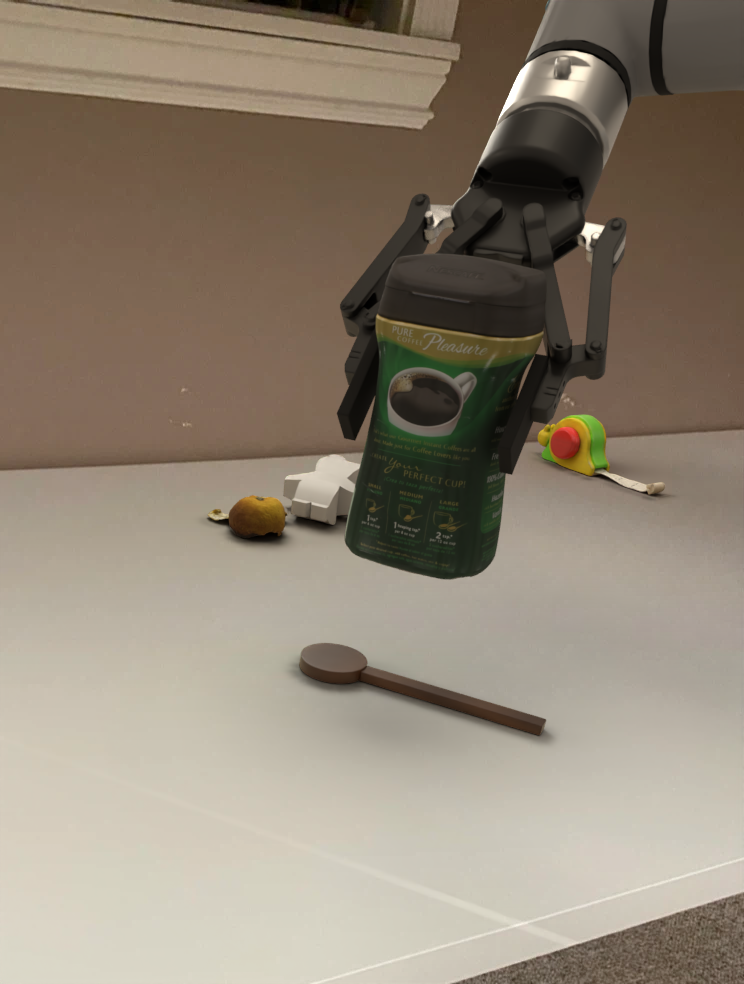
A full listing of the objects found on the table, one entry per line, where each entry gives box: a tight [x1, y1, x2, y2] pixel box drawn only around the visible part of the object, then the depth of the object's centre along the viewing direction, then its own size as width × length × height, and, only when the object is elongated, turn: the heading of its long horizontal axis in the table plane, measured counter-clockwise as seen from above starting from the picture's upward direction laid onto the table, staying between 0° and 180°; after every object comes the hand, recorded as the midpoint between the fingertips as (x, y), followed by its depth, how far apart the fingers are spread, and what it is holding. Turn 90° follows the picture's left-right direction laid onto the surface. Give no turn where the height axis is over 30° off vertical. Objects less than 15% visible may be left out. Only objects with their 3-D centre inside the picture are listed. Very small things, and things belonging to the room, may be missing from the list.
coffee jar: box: [344, 253, 547, 581], centre depth 68 cm, size 10×8×19 cm
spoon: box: [298, 642, 547, 736], centre depth 83 cm, size 19×5×1 cm, turn 61°
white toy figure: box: [282, 453, 361, 526], centre depth 120 cm, size 10×5×15 cm
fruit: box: [207, 494, 288, 539], centre depth 112 cm, size 8×8×4 cm
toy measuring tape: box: [537, 414, 666, 495], centre depth 141 cm, size 6×20×7 cm, turn 34°
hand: (423, 443), depth 66 cm, fingers closed on coffee jar, 9 cm apart
